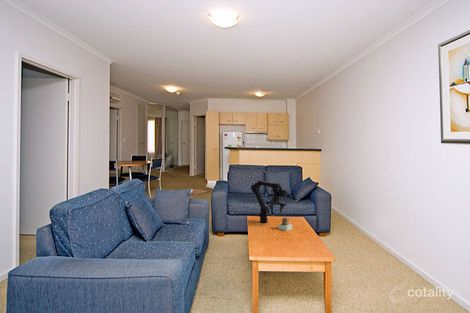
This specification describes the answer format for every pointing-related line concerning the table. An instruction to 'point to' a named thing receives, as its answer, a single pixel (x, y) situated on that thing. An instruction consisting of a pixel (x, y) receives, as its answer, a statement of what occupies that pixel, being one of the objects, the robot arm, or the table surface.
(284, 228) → the sage base block
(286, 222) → the walnut block
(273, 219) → the table surface
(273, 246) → the table surface
